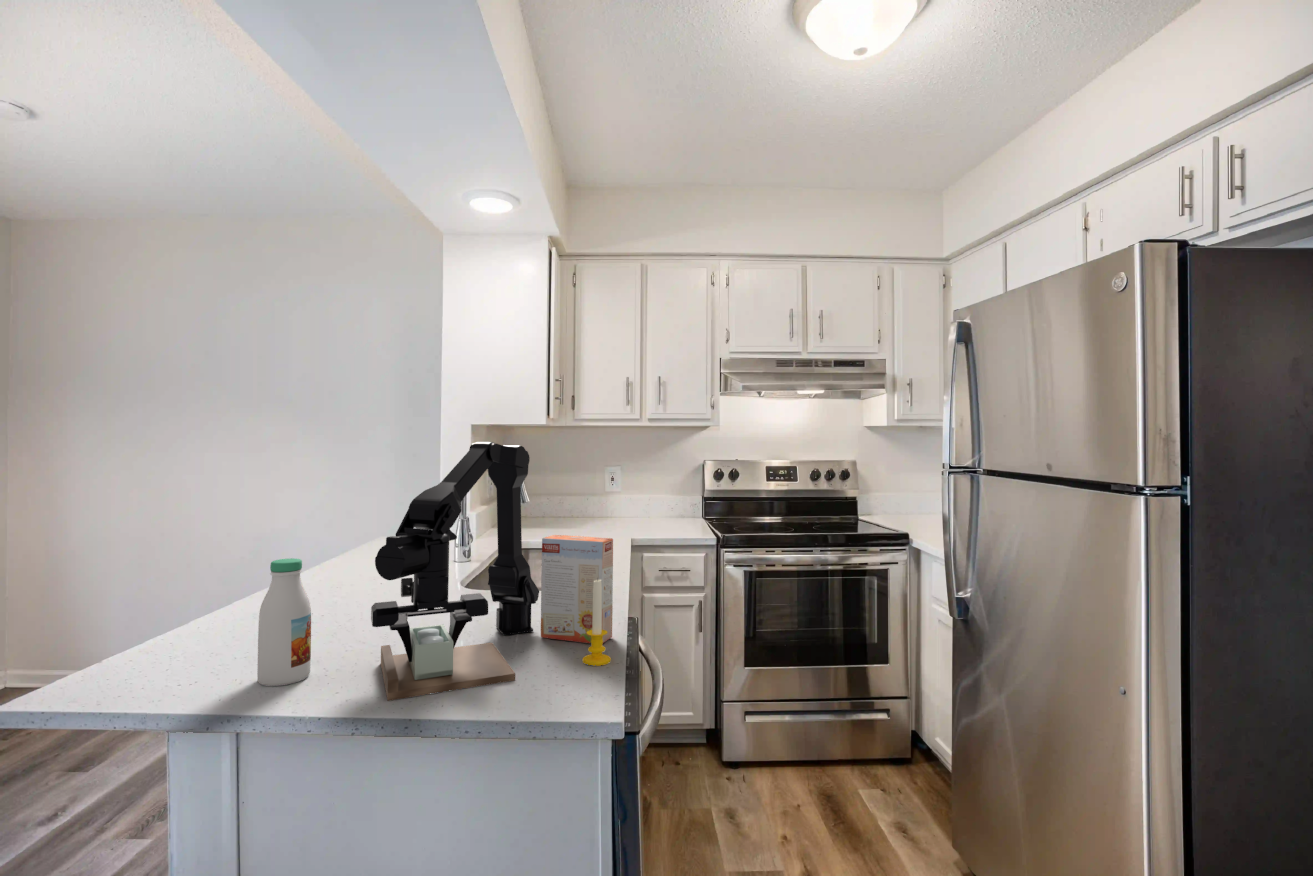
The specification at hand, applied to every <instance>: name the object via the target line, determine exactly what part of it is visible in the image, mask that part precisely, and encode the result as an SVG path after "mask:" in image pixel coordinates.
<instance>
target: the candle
mask: <svg viewBox="0 0 1313 876" xmlns="http://www.w3.org/2000/svg"><path fill="white" fill-rule="evenodd" d="M601 581H602V580H598V578H597V580H595V581H594V585H593V623H592V630H589V631H587V634H588V635H591V638H592V639H591V644H590V645H591V646H589V647H588V648H587V651H588V652H589V653H590V654H587V655H584V657H582V663H583V664H584V663H585V664H584V665H586V664H588V665H587V666H590V665H593V666H592V667H601V665H602V666H605V665H608V664H610V663H611V661H612V658H611V656H609V655H608V654H604V652H605V651H606V647H605V646H604V645H603V644H604V643H603V639H602V638H603V635H606V634H607V631H606V630H602V583H601ZM595 665H596V666H595Z"/></svg>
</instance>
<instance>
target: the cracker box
mask: <svg viewBox="0 0 1313 876" xmlns="http://www.w3.org/2000/svg"><path fill="white" fill-rule="evenodd" d="M597 578H598V580H602V581H601V583H602V630H606V631H607V634H606V635H603V638H602V639H603V644H604V643H606V642H607V641H609V640H610V639H611V638H613V603H614V602H613V593H614V591H613V590H614V589H613V588H614V587H613V585H614V584H613V582H614V539H613V538H611V537H609V538H608V537H596V536H584V535H583V536H581V535H566V534H565V535H564V534H563V535H562V534H552V535H548V536H545V537H543V538H541V582H540V583H541V586H540V587H541V589H540V594H541V595H540V637H541V638H542V639H551V640H559V641H560V640H561V641H569V642H575V643H584V644H590V643H591V639H592V638H591V635H588V634H587V631H589V630H592V623H593V585H594V581H595V580H597Z"/></svg>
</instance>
